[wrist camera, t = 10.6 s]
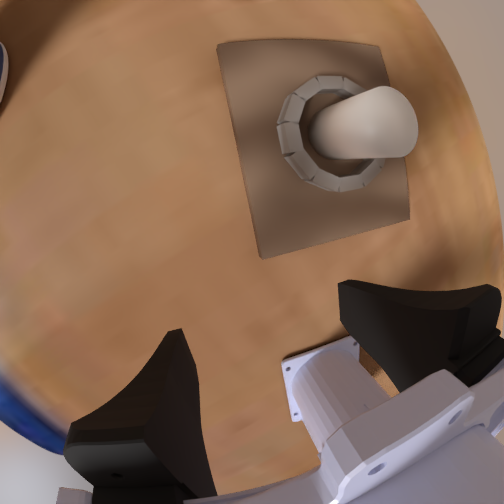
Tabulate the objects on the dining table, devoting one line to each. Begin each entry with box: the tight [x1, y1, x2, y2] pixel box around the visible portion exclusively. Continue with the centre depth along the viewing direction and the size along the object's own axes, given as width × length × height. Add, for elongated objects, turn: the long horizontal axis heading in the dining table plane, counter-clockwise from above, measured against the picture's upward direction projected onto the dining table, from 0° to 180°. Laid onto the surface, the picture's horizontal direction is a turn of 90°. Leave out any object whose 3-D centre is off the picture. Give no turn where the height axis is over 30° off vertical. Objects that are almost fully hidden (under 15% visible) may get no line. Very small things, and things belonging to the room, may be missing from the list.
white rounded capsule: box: [308, 86, 418, 160], centre depth 16 cm, size 4×4×7 cm
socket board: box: [216, 39, 410, 260], centre depth 19 cm, size 16×14×2 cm
